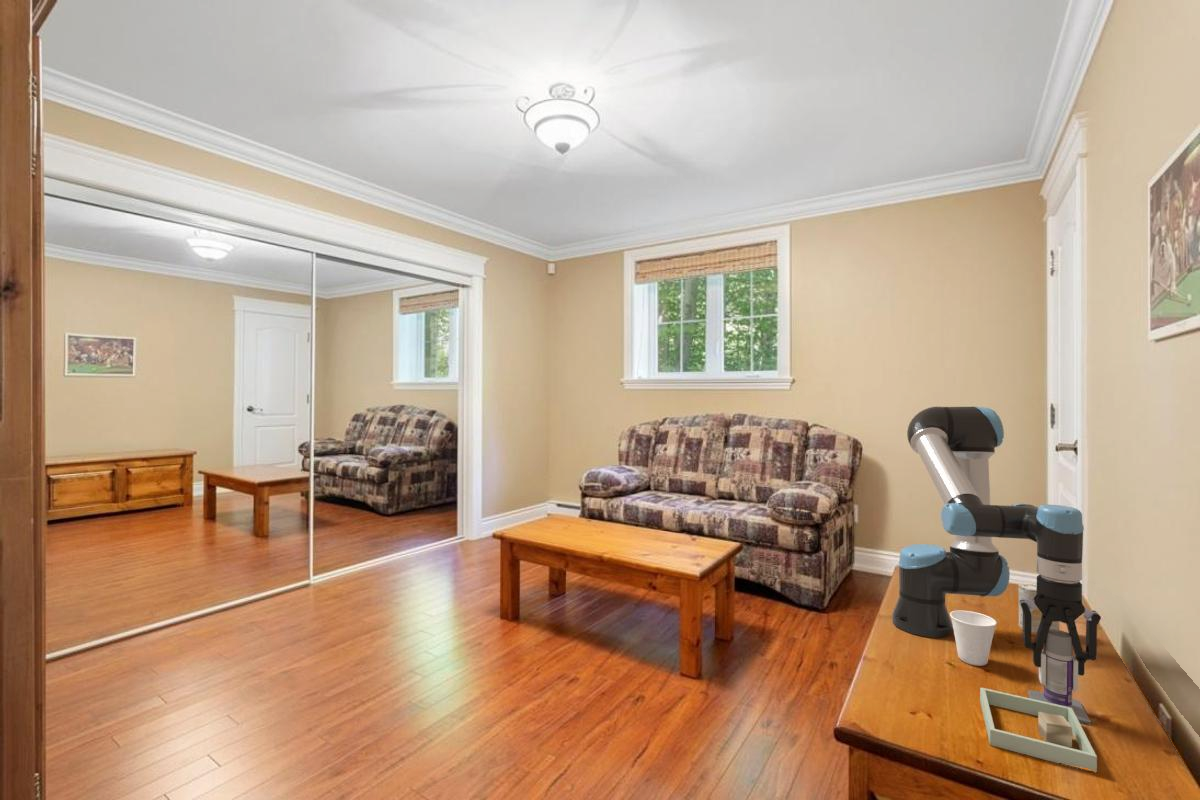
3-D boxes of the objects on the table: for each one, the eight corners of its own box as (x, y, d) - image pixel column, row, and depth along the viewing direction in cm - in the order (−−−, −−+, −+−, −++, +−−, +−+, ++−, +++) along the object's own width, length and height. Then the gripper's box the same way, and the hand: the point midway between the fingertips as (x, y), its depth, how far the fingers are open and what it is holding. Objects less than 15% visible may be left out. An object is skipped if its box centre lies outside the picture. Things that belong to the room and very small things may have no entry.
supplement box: (1047, 629, 157) (1048, 584, 157) (1060, 636, 152) (1060, 590, 152) (1017, 627, 158) (1017, 583, 158) (1028, 635, 153) (1029, 589, 153)
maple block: (1046, 743, 105) (1046, 722, 105) (1038, 731, 109) (1038, 711, 109) (1071, 748, 104) (1072, 727, 104) (1062, 735, 108) (1062, 715, 108)
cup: (988, 654, 141) (988, 613, 141) (1003, 673, 132) (1003, 628, 132) (944, 649, 144) (945, 608, 144) (955, 666, 135) (956, 622, 135)
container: (1057, 695, 120) (1058, 628, 120) (1078, 707, 115) (1078, 637, 115) (1038, 696, 119) (1038, 628, 119) (1057, 708, 115) (1058, 638, 115)
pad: (1035, 712, 116) (1035, 709, 116) (1027, 692, 123) (1027, 689, 123) (1091, 725, 111) (1091, 722, 111) (1079, 703, 119) (1079, 700, 119)
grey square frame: (990, 745, 105) (990, 729, 105) (980, 700, 120) (980, 687, 120) (1096, 773, 97) (1096, 756, 97) (1071, 722, 112) (1071, 707, 112)
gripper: (1010, 576, 118) (1009, 682, 118) (1119, 591, 109) (1118, 705, 110) (1005, 566, 125) (1004, 667, 125) (1108, 580, 116) (1106, 688, 116)
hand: (1057, 684), depth 117 cm, fingers closed on container, 5 cm apart
